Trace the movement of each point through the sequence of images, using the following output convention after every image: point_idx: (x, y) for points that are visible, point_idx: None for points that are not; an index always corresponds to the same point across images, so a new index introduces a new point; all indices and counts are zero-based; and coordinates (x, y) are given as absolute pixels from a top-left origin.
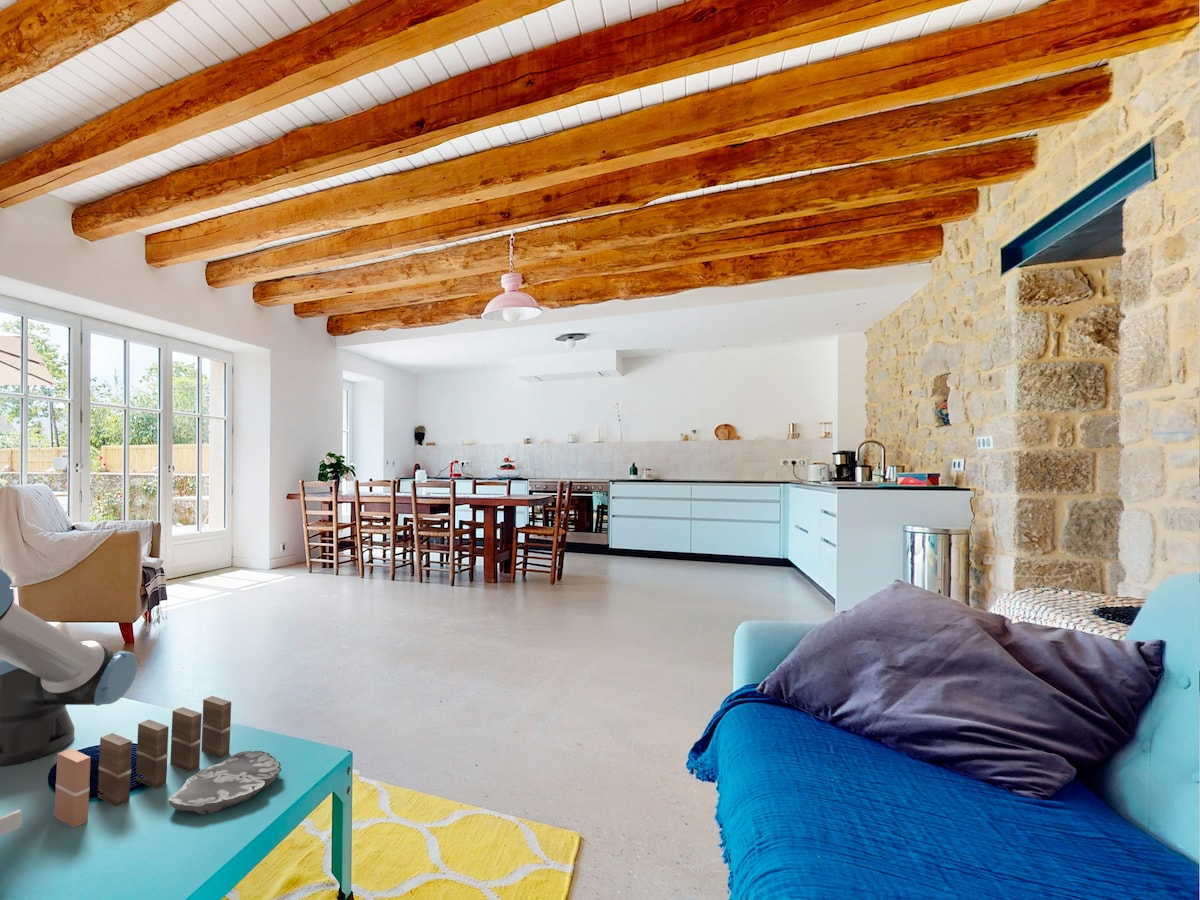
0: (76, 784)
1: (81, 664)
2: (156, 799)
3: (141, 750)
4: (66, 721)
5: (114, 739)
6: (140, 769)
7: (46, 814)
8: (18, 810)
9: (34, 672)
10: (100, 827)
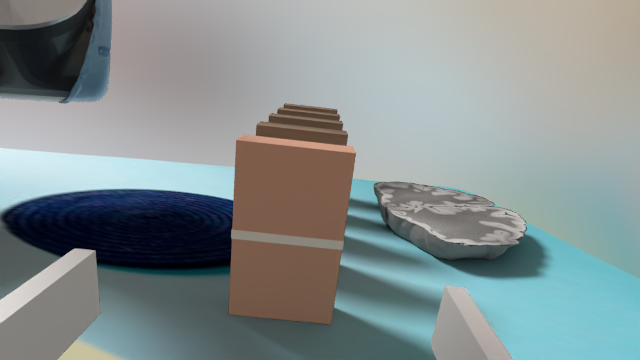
0: (346, 217)
1: None
2: (369, 251)
3: None
4: None
5: (301, 128)
6: None
7: (193, 313)
8: (455, 289)
9: None
10: (386, 311)
